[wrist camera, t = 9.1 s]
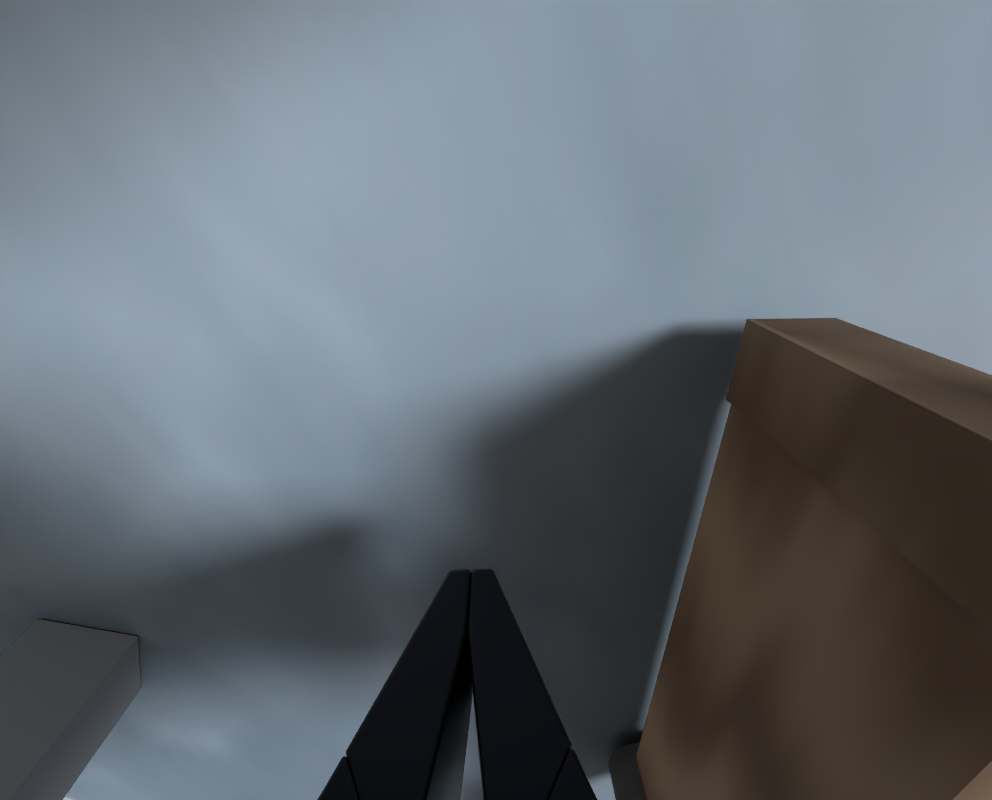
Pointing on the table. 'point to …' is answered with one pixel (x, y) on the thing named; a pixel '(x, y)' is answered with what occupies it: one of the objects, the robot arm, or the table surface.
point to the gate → (833, 584)
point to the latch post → (60, 704)
